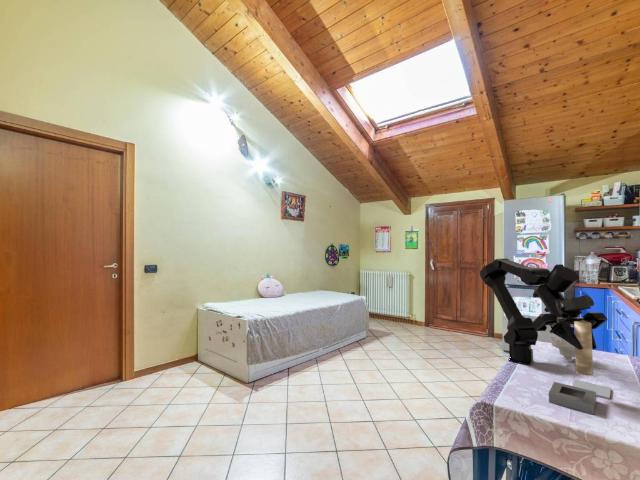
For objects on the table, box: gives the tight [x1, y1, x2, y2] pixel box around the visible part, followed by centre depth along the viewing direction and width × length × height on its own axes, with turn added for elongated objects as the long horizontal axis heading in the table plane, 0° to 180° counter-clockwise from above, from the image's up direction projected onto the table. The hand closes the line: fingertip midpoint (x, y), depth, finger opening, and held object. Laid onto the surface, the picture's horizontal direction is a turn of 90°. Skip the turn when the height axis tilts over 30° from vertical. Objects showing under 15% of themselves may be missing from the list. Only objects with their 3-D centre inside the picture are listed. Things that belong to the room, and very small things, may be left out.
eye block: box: [548, 381, 597, 415], centre depth 81 cm, size 9×9×2 cm
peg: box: [573, 321, 594, 376], centre depth 84 cm, size 4×4×14 cm
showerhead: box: [550, 336, 576, 362], centre depth 110 cm, size 9×7×10 cm
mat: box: [572, 379, 612, 400], centre depth 87 cm, size 8×8×1 cm
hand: (588, 348), depth 83 cm, fingers closed on peg, 4 cm apart
